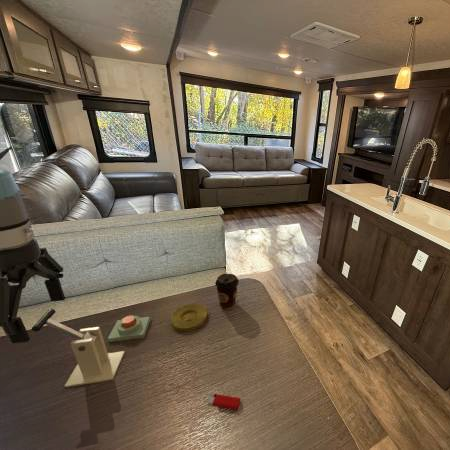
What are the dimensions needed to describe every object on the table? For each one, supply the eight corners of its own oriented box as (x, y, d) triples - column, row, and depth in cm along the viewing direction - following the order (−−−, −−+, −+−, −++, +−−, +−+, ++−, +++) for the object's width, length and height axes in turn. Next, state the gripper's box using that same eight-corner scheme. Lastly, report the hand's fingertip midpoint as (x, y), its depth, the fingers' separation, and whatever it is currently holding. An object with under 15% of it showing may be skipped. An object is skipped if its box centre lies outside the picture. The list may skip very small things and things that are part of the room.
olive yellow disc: (171, 313, 93) (171, 308, 92) (205, 305, 98) (204, 301, 97) (171, 337, 83) (170, 332, 83) (208, 327, 88) (208, 323, 88)
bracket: (65, 389, 66) (49, 352, 60) (83, 359, 74) (70, 324, 68) (113, 381, 69) (101, 345, 63) (125, 353, 77) (116, 319, 71)
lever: (28, 330, 58) (35, 324, 58) (45, 312, 64) (52, 306, 63) (83, 354, 64) (89, 348, 64) (94, 335, 70) (100, 330, 70)
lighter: (236, 408, 64) (207, 403, 64) (236, 411, 64) (207, 406, 65) (240, 397, 67) (211, 392, 67) (240, 400, 67) (212, 395, 68)
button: (120, 328, 81) (119, 324, 80) (125, 320, 84) (123, 315, 83) (133, 327, 81) (132, 322, 81) (137, 319, 85) (136, 314, 84)
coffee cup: (225, 315, 95) (224, 287, 90) (212, 305, 99) (210, 278, 94) (242, 303, 101) (242, 277, 96) (229, 294, 106) (229, 269, 100)
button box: (108, 343, 79) (106, 334, 78) (118, 324, 86) (116, 316, 85) (144, 339, 82) (142, 330, 80) (150, 321, 89) (149, 312, 87)
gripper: (-18, 276, 43) (24, 361, 51) (66, 220, 64) (85, 285, 73) (-78, 279, 41) (-24, 367, 49) (30, 220, 62) (54, 287, 71)
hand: (41, 318), depth 61 cm, fingers open, 13 cm apart
